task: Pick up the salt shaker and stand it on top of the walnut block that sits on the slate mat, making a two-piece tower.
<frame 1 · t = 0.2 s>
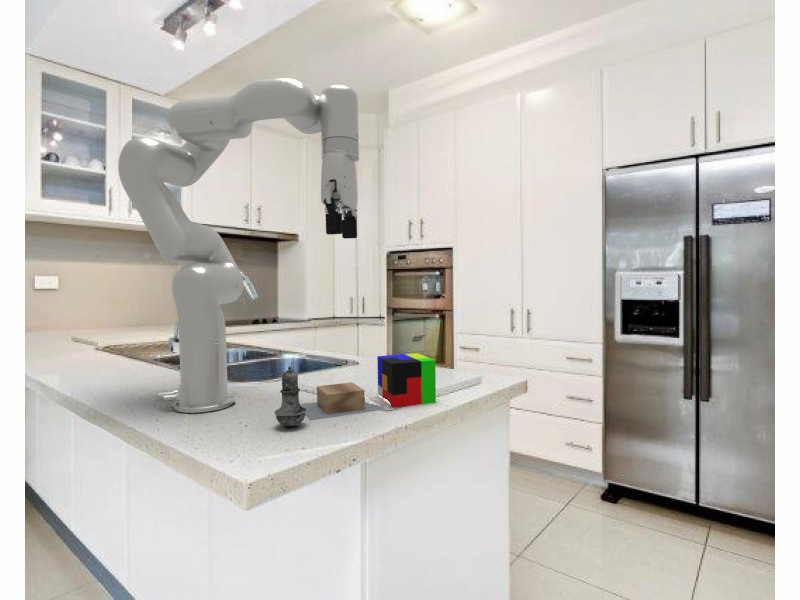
hand: (342, 236, 92), 37 cm above the countertop, tool pointing down, fingers open, 9 cm apart
puzzle toy: (406, 403, 101), on the countertop
base block: (340, 406, 96), point 1 cm above the countertop, touching slate mat
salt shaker: (291, 430, 83), on the countertop
slate mat: (340, 409, 96), on the countertop
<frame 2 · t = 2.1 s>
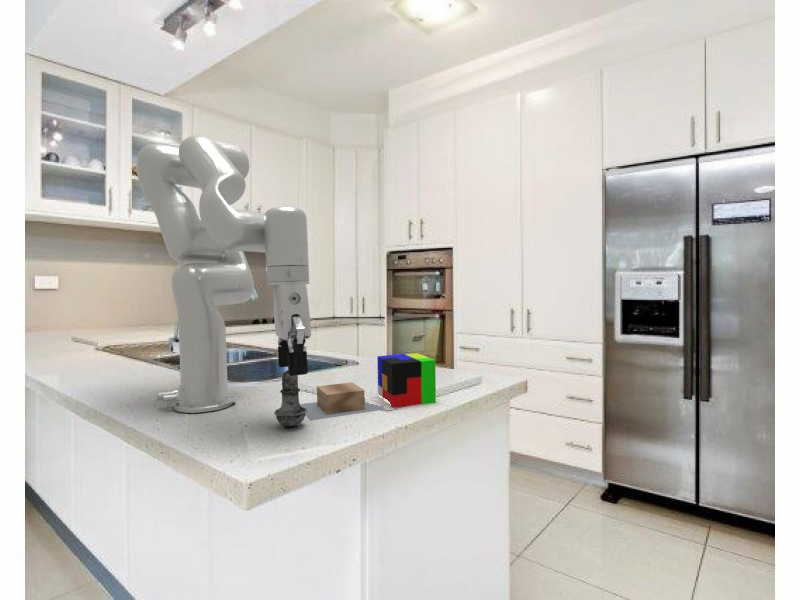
hand: (292, 370, 82), 11 cm above the countertop, tool pointing down, fingers open, 9 cm apart
nothing on the countertop moved.
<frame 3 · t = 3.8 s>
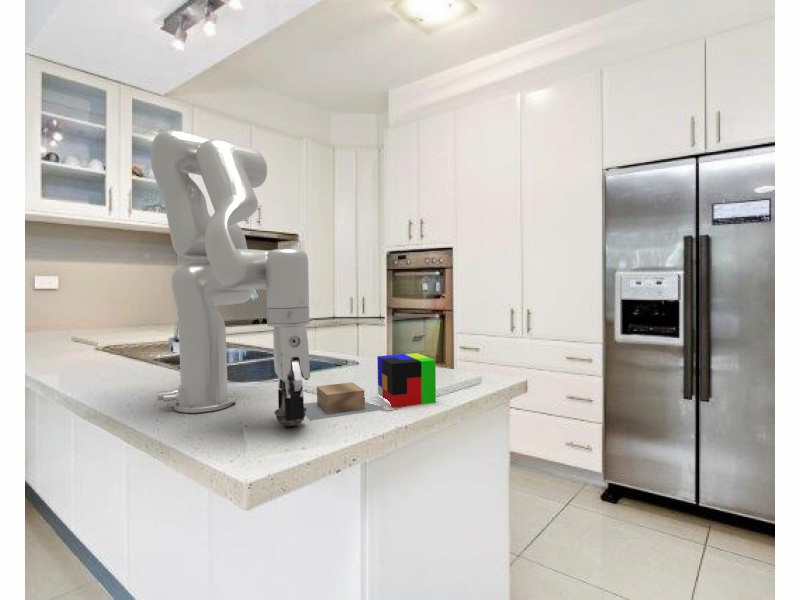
hand: (290, 413, 83), 3 cm above the countertop, tool pointing down, fingers closed on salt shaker, 5 cm apart
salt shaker: (291, 430, 83), on the countertop, touching gripper
everything else where it was.
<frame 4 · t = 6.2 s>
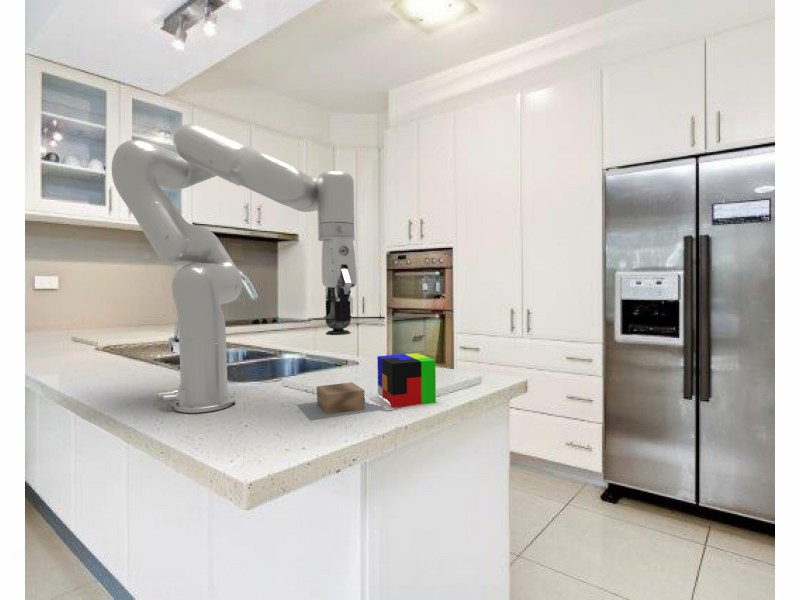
hand: (337, 318, 94), 19 cm above the countertop, tool pointing down, fingers closed on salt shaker, 5 cm apart
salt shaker: (338, 334, 95), point 16 cm above the countertop, touching gripper
everything else where it was.
when the fingers open (9 cm above the countertop, at t = 9.0 s): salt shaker drops 1 cm, resting on base block.
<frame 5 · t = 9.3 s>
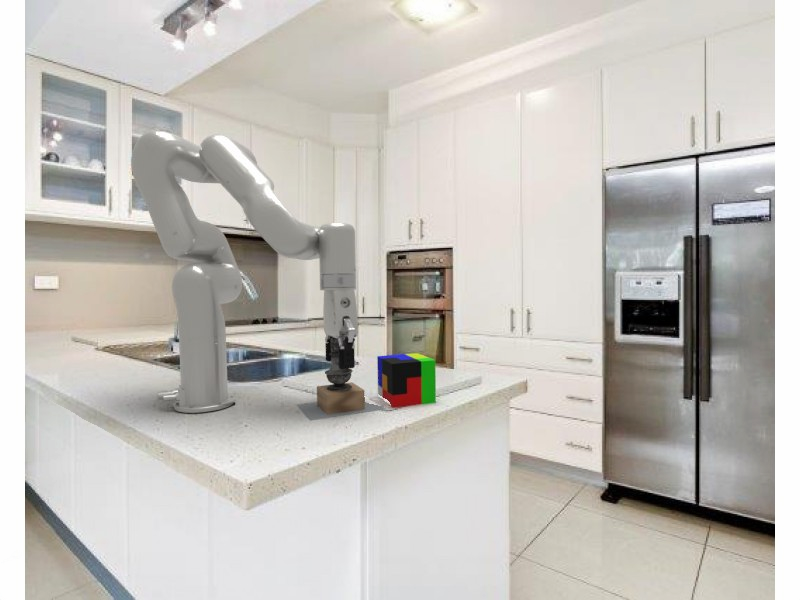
hand: (339, 364, 95), 10 cm above the countertop, tool pointing down, fingers open, 9 cm apart
base block: (340, 406, 96), point 1 cm above the countertop, touching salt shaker, slate mat
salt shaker: (339, 388, 95), point 4 cm above the countertop, touching base block
everything else where it was.
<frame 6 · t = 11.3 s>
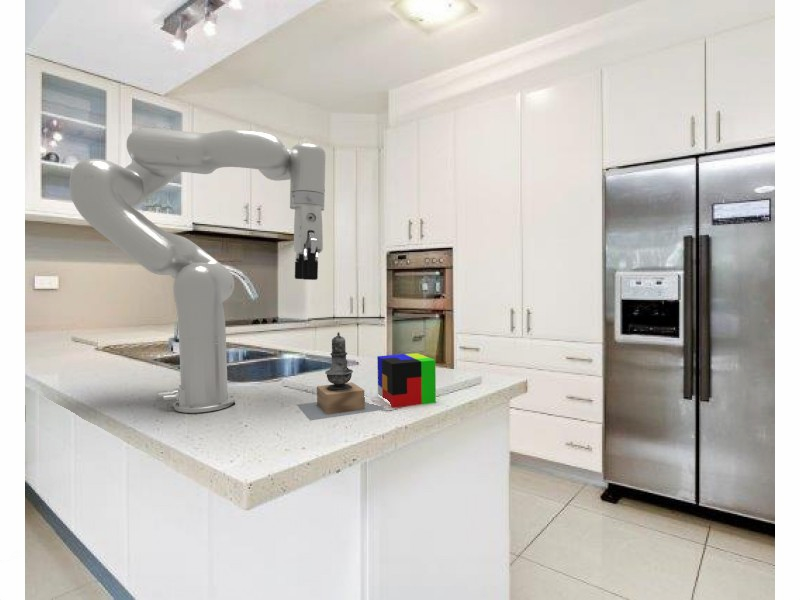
hand: (305, 279, 101), 28 cm above the countertop, tool pointing down, fingers open, 9 cm apart
nothing on the countertop moved.
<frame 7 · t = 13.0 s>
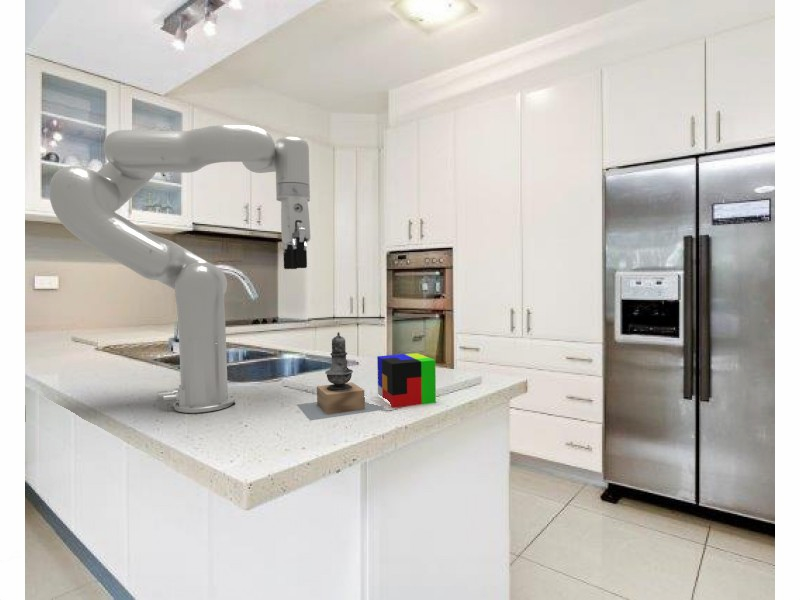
hand: (295, 268, 104), 30 cm above the countertop, tool pointing down, fingers open, 9 cm apart
nothing on the countertop moved.
at the end: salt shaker 0.1 cm off-centre on the base block, point 3.8 cm above the base block's base; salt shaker tilted 0°; base block moved 0.0 cm from its start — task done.
